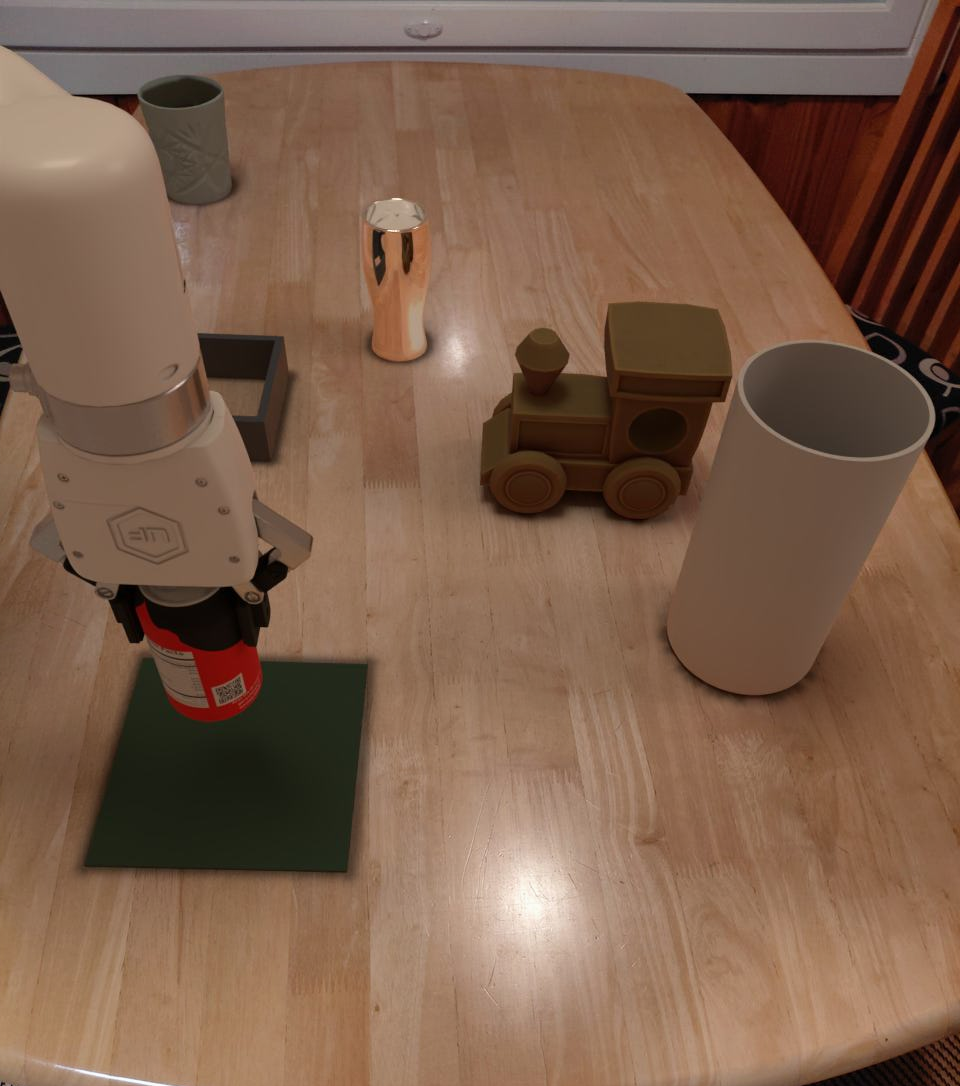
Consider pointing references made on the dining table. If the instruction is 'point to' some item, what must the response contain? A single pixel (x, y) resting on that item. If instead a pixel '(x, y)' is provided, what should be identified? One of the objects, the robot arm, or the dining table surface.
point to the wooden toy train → (610, 412)
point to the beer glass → (397, 274)
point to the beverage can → (199, 649)
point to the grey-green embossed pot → (189, 136)
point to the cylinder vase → (793, 509)
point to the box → (251, 362)
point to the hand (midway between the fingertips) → (197, 625)
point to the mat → (237, 777)
